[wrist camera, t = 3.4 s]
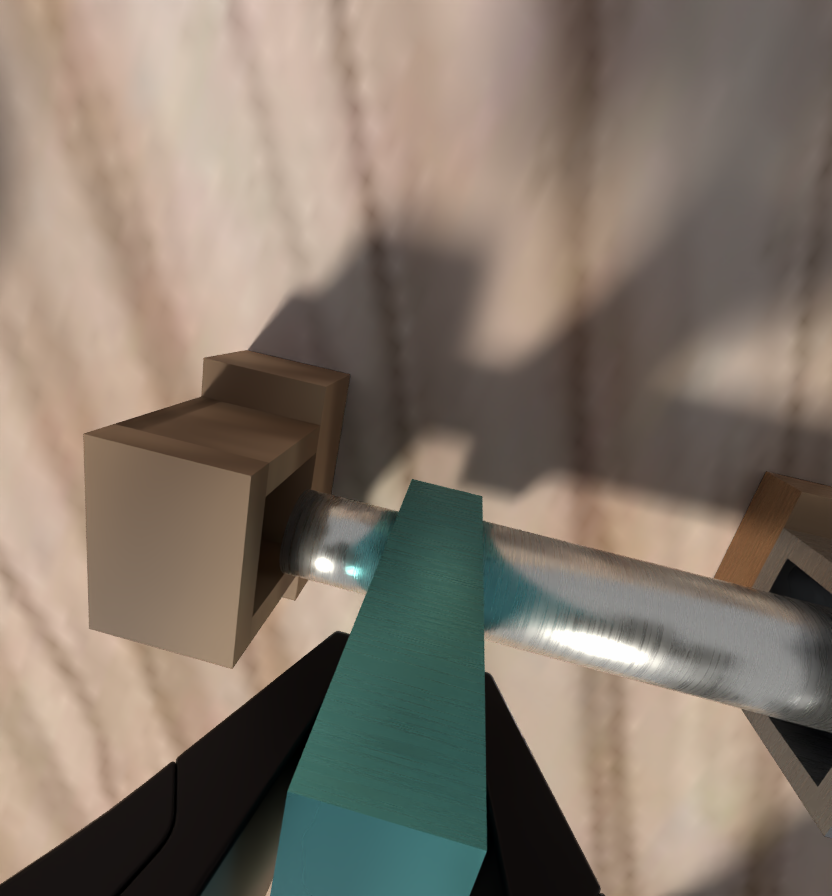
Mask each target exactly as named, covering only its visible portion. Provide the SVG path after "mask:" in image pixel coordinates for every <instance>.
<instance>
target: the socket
mask: <svg viewBox="0 0 832 896" xmlns="http://www.w3.org/2000/svg"><path fill="white" fill-rule="evenodd" d="M349 380H350V374H346V373H342V372H338V371H333V370H329V369H325V368H321V367H316V366H312V365H308V364H303V363H299V362H295V361H291V360H286V359H282V358H278V357H273V356H269V355H265V354H261V353H256V352H252V351H248V350H245V351H239V352H234V353H228V354H223V355H217V356H211V357H206V358H204V361H203V379H202V397H199V398H195V399H192V400H189V401H186V402H183V403H180V404H176V405H173V406H170V407H167V408H164V409H161V410H157V411H154V412H151V413H148V414H145V415H142V416H138V417H135V418H132V419H129V420H126V421H122V422H119V423H116V424H113V425H110V426H107V427H103V428H100V429H97V430H94V431H91V432H88V433H84V434H83V440H84V473H85V506H86V539H87V572H88V605H89V629H92V630H96V631H99V632H103V633H106V634H110V635H113V636H117V637H120V638H124V639H128V640H131V641H135V642H138V643H142V644H145V645H149V646H152V647H156V648H159V649H163V650H167V651H170V652H174V653H177V654H181V655H184V656H188V657H191V658H195V659H198V660H202V661H206V662H209V663H213V664H216V665H220V666H223V667H227V668H230V669H233V667H234V666H235V664H236V663H237V661H238V660H239V659H240V657H241V656H242V654H243V653H244V651H245V650H246V648H247V647H248V645H249V644H250V643H251V641H252V640H253V638H254V637H255V635H256V634H257V632H258V631H259V629H260V628H261V627H262V625H263V624H264V622H265V621H266V619H267V618H268V616H269V615H270V613H271V612H272V611H273V609H274V608H275V606H276V605H277V603H278V602H279V600H280V599H281V597H283V598H287V599H291V600H294V601H295V600H296V598H297V597H298V595H299V594H300V592H301V591H302V589H303V587H304V586H305V584H306V583H307V581H308V579H304V578H300V577H297V576H293V575H289V574H285V573H283V572H282V571H281V569H280V551H281V545H282V540H283V536H284V532H285V529H286V526H287V523H288V520H289V517H290V515H291V512H292V510H293V508H294V506H295V504H296V502H297V500H298V499H299V497H300V496H301V495H302V493H303V492H304V491H305V490H307V489H311V490H315V491H319V492H323V493H327V494H331V492H332V485H333V479H334V473H335V467H336V461H337V454H338V448H339V442H340V436H341V429H342V423H343V417H344V411H345V405H346V398H347V392H348V386H349Z"/></svg>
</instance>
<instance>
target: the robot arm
mask: <svg viewBox="0 0 832 896" xmlns="http://www.w3.org/2000/svg"><path fill="white" fill-rule="evenodd" d="M349 636H350V634H348V633H344V632H341V631H336V632H334V633H333V634H332V635H330V636H329V637H328V638H327V639H325V640H324V641H323V642H322V643H320V644H319V645H318V646H317V647H315V648H314V649H313V650H312V651H310V652H309V653H308V654H307V655H305V656H304V657H303V658H301V659H300V660H299V661H298V662H296V663H295V664H294V665H293V666H291V667H290V668H289V669H288V670H286V671H285V672H284V673H283V674H281V675H280V676H279V677H278V678H276V679H275V680H274V681H273V682H271V683H270V684H269V685H268V686H266V687H265V688H264V689H263V690H261V691H260V692H259V693H258V694H256V695H255V696H254V697H253V698H251V699H250V700H249V701H248V702H246V703H245V704H244V705H242V706H241V707H240V708H239V709H237V710H236V711H235V712H234V713H232V714H231V715H230V716H229V717H227V718H226V719H225V720H224V721H222V722H221V723H220V724H219V725H217V726H216V727H215V728H214V729H212V730H211V731H210V732H209V733H207V734H206V735H205V736H204V737H202V738H201V739H200V740H199V741H197V742H196V743H195V744H194V745H192V746H191V747H190V748H189V749H187V750H186V751H185V752H183V753H182V754H181V755H180V756H178V757H177V759H176V763H175V762H171V763H169V764H168V765H167V766H165V767H164V768H163V769H162V770H161V771H159V772H158V773H157V774H156V775H154V776H153V777H152V778H151V779H149V780H148V781H147V782H145V783H144V784H143V785H142V786H140V787H139V788H138V789H136V790H135V791H134V792H132V793H131V794H130V795H128V796H127V797H126V798H124V799H123V800H122V801H120V802H119V803H118V804H117V805H115V806H114V807H113V808H111V809H110V810H109V811H107V812H106V813H104V814H103V815H102V816H100V817H99V818H97V819H96V820H94V821H93V822H91V823H90V824H89V825H87V826H86V827H84V828H83V829H81V830H80V831H78V832H77V833H76V834H74V835H73V836H71V837H70V838H68V839H67V840H65V841H64V842H63V843H61V844H60V845H58V846H57V847H55V848H54V849H52V850H51V851H49V852H48V853H46V854H45V855H43V856H42V857H40V858H39V859H37V860H36V861H34V862H33V863H31V864H30V865H28V866H27V867H25V868H24V869H22V870H21V871H19V872H18V873H16V874H15V875H13V876H12V877H10V878H9V879H7V880H6V881H4V882H3V883H1V884H0V896H265V895H266V893H267V891H268V889H269V886H270V884H271V882H272V879H273V875H274V869H275V863H276V857H277V851H278V845H279V839H280V833H281V827H282V821H283V815H284V809H285V803H286V797H287V791H288V789H289V786H290V784H291V781H292V779H293V776H294V774H295V771H296V769H297V766H298V764H299V761H300V759H301V756H302V754H303V751H304V748H305V746H306V743H307V741H308V738H309V736H310V733H311V731H312V728H313V726H314V723H315V721H316V718H317V716H318V713H319V711H320V708H321V706H322V703H323V701H324V698H325V696H326V693H327V691H328V688H329V686H330V683H331V681H332V678H333V676H334V673H335V671H336V668H337V666H338V663H339V661H340V658H341V656H342V653H343V651H344V648H345V646H346V643H347V641H348V638H349ZM485 743H486V820H487V852H486V854H485V857H484V860H483V862H482V865H481V867H480V870H479V872H478V875H477V878H476V880H475V883H474V885H473V888H472V890H471V893H470V895H469V896H605V895H604V894H603V893H600V890H601V888H600V885H599V883H598V881H597V879H596V877H595V875H594V873H593V871H592V869H591V867H590V865H589V864H588V862H587V860H586V858H585V856H584V854H583V852H582V850H581V848H580V846H579V844H578V842H577V840H576V838H575V836H574V834H573V832H572V830H571V828H570V827H569V825H568V823H567V821H566V819H565V817H564V815H563V813H562V811H561V809H560V807H559V805H558V803H557V801H556V799H555V797H554V795H553V793H552V791H551V790H550V788H549V786H548V784H547V782H546V780H545V778H544V776H543V774H542V772H541V770H540V768H539V766H538V764H537V762H536V760H535V758H534V756H533V754H532V753H531V751H530V749H529V747H528V745H527V743H526V741H525V739H524V737H523V735H522V733H521V731H520V729H519V727H518V725H517V723H516V721H515V719H514V717H513V716H512V714H511V712H510V710H509V708H508V706H507V704H506V702H505V700H504V698H503V696H502V694H501V692H500V690H499V688H498V686H497V684H496V682H495V680H494V678H493V677H492V675H491V674H489V673H488V672H485ZM599 893H600V894H599Z"/></svg>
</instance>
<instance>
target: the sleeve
mask: <svg viewBox="0 0 832 896" xmlns="http://www.w3.org/2000/svg"><path fill="white" fill-rule="evenodd" d="M714 579H718V580H722V581H726V582H730V583H734V584H738V585H742V586H746V587H750V588H754V589H758V590H762V591H766V592H770V593H774V594H778V595H782V596H786V597H790V598H794V599H798V600H802V601H806V602H810V603H814V604H818V605H822V606H826V607H830V608H832V487H831V486H826V485H822V484H818V483H814V482H809V481H805V480H801V479H796V478H792V477H788V476H784V475H779V474H775V473H771V472H766V473H765V475H764V477H763V479H762V481H761V483H760V485H759V487H758V489H757V491H756V493H755V495H754V497H753V499H752V501H751V503H750V505H749V508H748V510H747V512H746V514H745V516H744V518H743V520H742V522H741V524H740V526H739V528H738V530H737V532H736V534H735V536H734V538H733V540H732V542H731V544H730V546H729V548H728V550H727V552H726V554H725V556H724V558H723V561H722V563H721V565H720V567H719V569H718V571H717V573H716V575H715V577H714ZM742 711H743V712H744V714H745V716H746V717H747V719H748V720H749V722H750V723H751V725H752V726H753V728H754V729H755V731H756V732H757V734H758V735H759V737H760V738H761V740H762V742H763V743H764V745H765V746H766V748H767V749H768V751H769V752H770V754H771V755H772V757H773V758H774V760H775V761H776V763H777V765H778V766H779V768H780V769H781V771H782V772H783V774H784V775H785V777H786V778H787V780H788V781H789V783H790V784H791V786H792V787H793V789H794V791H795V792H796V794H797V795H798V797H799V798H800V800H801V801H802V803H803V804H804V806H805V807H806V809H807V810H808V812H809V814H810V815H811V817H812V818H813V820H814V821H815V823H816V824H817V826H818V827H819V829H820V830H821V832H822V833H823V835H824V836H825V837H829V838H832V733H830V732H826V731H823V730H819V729H815V728H811V727H808V726H804V725H800V724H796V723H793V722H789V721H785V720H782V719H778V718H774V717H770V716H767V715H763V714H759V713H755V712H752V711H748V710H744V709H742Z"/></svg>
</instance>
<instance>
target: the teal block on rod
mask: <svg viewBox="0 0 832 896" xmlns="http://www.w3.org/2000/svg"><path fill="white" fill-rule="evenodd" d="M280 569H281V571H282V572H283V573H285V574H289V575H293V576H297V577H300V578H304V579H308V580H312V581H315V582H319V583H323V584H327V585H330V586H334V587H338V588H342V589H346V590H349V591H353V592H357V593H361V594H364V595H366V596H365V598H364V601H363V603H362V606H361V608H360V611H359V613H358V616H357V618H356V621H355V623H354V626H353V628H352V631H351V633H350V636H349V638H348V641H347V643H346V646H345V648H344V651H343V653H342V656H341V658H340V661H339V663H338V666H337V668H336V671H335V673H334V676H333V678H332V681H331V683H330V686H329V688H328V691H327V693H326V696H325V698H324V701H323V703H322V706H321V708H320V711H319V713H318V716H317V718H316V721H315V723H314V726H313V728H312V731H311V733H310V736H309V738H308V741H307V743H306V746H305V748H304V751H303V754H302V756H301V759H300V761H299V764H298V766H297V769H296V771H295V774H294V776H293V779H292V781H291V784H290V786H289V789H288V791H287V797H286V803H285V809H284V815H283V821H282V827H281V833H280V839H279V845H278V851H277V857H276V863H275V869H274V875H273V882H272V888H271V894H270V896H469V895H470V893H471V890H472V888H473V885H474V883H475V880H476V878H477V875H478V872H479V870H480V867H481V865H482V862H483V860H484V857H485V854H486V852H487V820H486V743H485V665H484V640H486V641H490V642H494V643H498V644H501V645H505V646H509V647H512V648H516V649H520V650H524V651H527V652H531V653H535V654H539V655H542V656H546V657H550V658H554V659H557V660H561V661H565V662H569V663H572V664H576V665H580V666H583V667H587V668H591V669H595V670H598V671H602V672H606V673H610V674H613V675H617V676H621V677H625V678H628V679H632V680H636V681H640V682H643V683H647V684H651V685H654V686H658V687H662V688H666V689H669V690H673V691H677V692H681V693H684V694H688V695H692V696H696V697H699V698H703V699H707V700H711V701H714V702H718V703H722V704H725V705H729V706H733V707H737V708H740V709H744V710H748V711H752V712H755V713H759V714H763V715H767V716H770V717H774V718H778V719H782V720H785V721H789V722H793V723H796V724H800V725H804V726H808V727H811V728H815V729H819V730H823V731H826V732H830V733H832V608H830V607H826V606H822V605H818V604H814V603H810V602H806V601H802V600H798V599H794V598H790V597H786V596H782V595H778V594H774V593H770V592H766V591H762V590H758V589H754V588H750V587H746V586H742V585H738V584H734V583H730V582H726V581H722V580H718V579H714V578H710V577H706V576H702V575H698V574H694V573H690V572H686V571H682V570H678V569H674V568H670V567H666V566H662V565H658V564H654V563H650V562H646V561H642V560H638V559H634V558H630V557H626V556H622V555H618V554H614V553H610V552H606V551H602V550H598V549H594V548H590V547H586V546H582V545H578V544H574V543H570V542H566V541H562V540H558V539H554V538H550V537H546V536H542V535H538V534H534V533H530V532H526V531H522V530H518V529H514V528H510V527H506V526H502V525H498V524H494V523H490V522H486V521H483V510H482V496H479V495H475V494H471V493H467V492H463V491H459V490H454V489H450V488H446V487H442V486H438V485H434V484H430V483H426V482H422V481H418V480H414V479H412V480H411V483H410V485H409V488H408V490H407V493H406V495H405V498H404V500H403V503H402V505H401V508H400V510H399V512H398V511H394V510H390V509H386V508H382V507H378V506H374V505H370V504H366V503H362V502H359V501H355V500H351V499H347V498H343V497H339V496H335V495H331V494H327V493H323V492H319V491H315V490H311V489H307V490H305V491H304V492H303V493H302V495H301V496H300V497H299V499H298V500H297V502H296V504H295V506H294V508H293V510H292V512H291V515H290V517H289V520H288V523H287V526H286V529H285V532H284V536H283V540H282V545H281V551H280Z"/></svg>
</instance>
